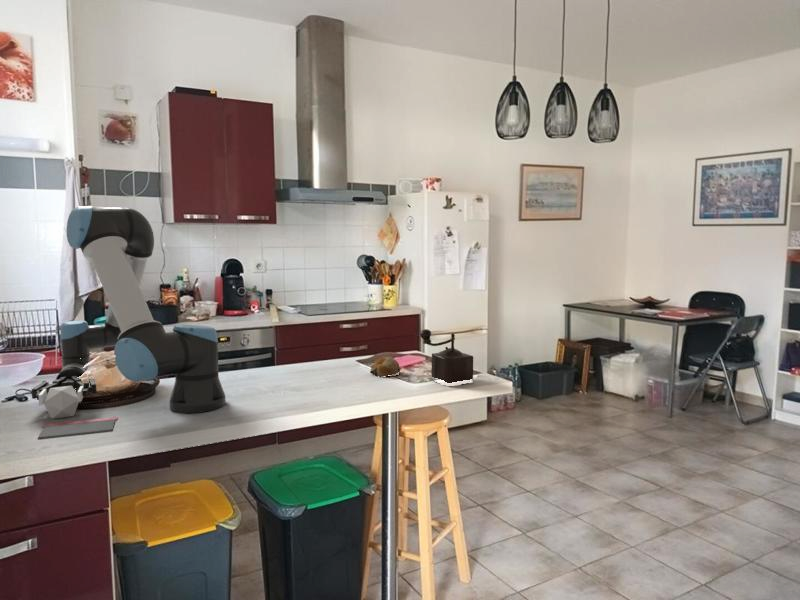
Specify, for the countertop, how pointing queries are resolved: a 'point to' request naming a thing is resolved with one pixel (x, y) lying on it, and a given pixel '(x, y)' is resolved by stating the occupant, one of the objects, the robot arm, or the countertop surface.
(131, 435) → the countertop surface
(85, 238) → the robot arm
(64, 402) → the die
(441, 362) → the manual coffee grinder
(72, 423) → the line
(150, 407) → the countertop surface
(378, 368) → the mottled brown round lump
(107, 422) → the mat
